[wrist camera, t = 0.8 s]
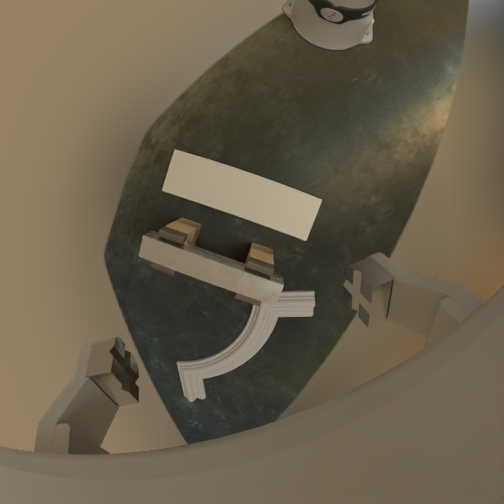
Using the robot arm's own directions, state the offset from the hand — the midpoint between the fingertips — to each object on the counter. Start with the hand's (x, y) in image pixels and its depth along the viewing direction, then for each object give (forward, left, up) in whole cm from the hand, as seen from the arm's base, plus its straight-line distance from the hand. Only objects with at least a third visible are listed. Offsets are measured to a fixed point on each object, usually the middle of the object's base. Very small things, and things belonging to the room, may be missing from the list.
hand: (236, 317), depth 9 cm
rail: (+11, -4, -33) cm, 35 cm away
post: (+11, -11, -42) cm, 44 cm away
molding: (+32, +7, -42) cm, 53 cm away
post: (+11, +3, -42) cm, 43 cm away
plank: (0, -4, -42) cm, 42 cm away
